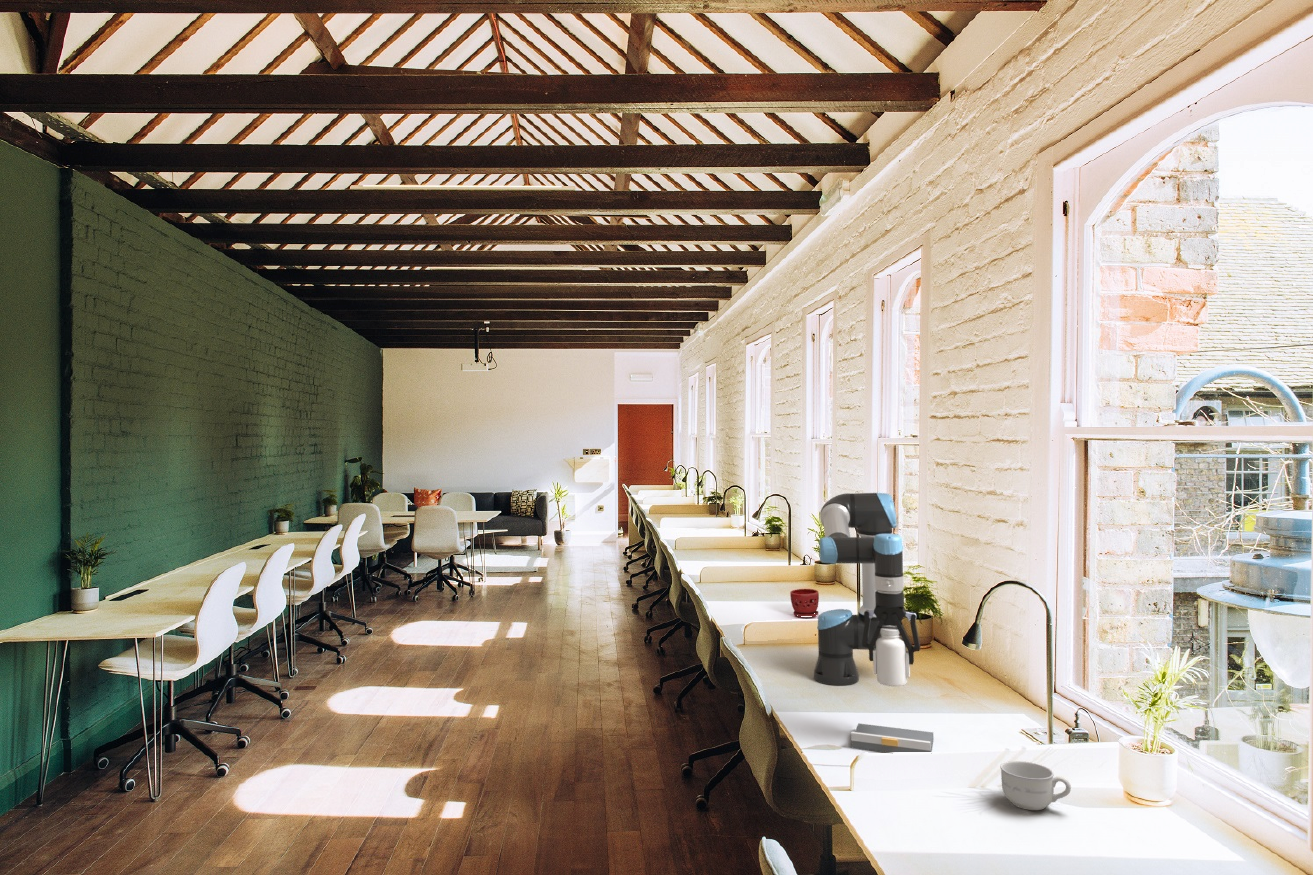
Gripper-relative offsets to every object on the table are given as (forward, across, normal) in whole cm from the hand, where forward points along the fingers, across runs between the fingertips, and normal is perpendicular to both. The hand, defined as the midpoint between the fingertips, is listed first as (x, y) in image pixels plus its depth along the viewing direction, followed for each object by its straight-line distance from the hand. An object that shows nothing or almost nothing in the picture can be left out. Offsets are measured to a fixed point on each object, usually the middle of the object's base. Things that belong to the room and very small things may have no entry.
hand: (891, 674), depth 205 cm
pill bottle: (+2, 0, 0) cm, 2 cm away
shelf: (+18, 0, -2) cm, 18 cm away
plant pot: (+18, -54, +138) cm, 149 cm away
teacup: (+19, +33, -27) cm, 46 cm away
